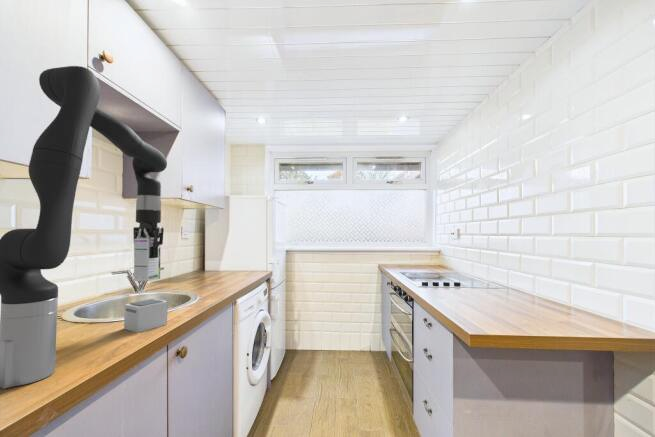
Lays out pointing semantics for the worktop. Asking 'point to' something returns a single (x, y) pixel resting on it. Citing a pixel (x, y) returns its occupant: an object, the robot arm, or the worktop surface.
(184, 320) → the worktop surface
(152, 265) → the syrup box
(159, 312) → the grey storage bin
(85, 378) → the worktop surface
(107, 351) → the worktop surface
